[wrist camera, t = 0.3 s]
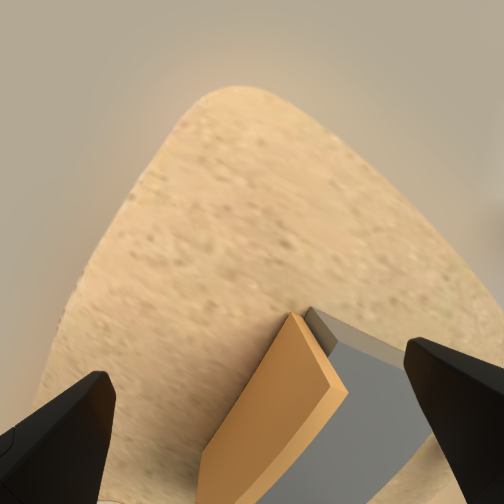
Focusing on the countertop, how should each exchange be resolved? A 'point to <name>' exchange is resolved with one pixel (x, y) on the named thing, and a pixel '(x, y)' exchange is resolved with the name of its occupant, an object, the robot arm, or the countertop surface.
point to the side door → (271, 419)
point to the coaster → (107, 502)
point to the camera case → (356, 423)
